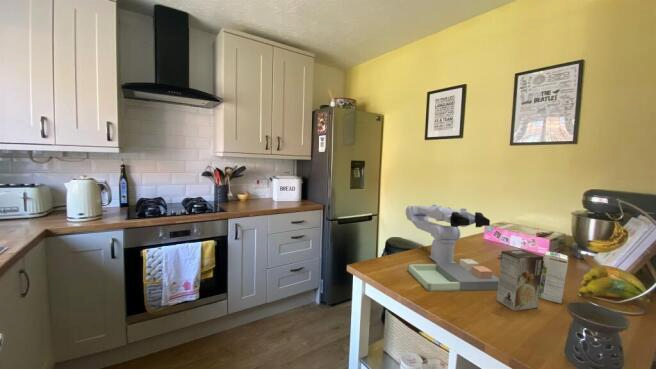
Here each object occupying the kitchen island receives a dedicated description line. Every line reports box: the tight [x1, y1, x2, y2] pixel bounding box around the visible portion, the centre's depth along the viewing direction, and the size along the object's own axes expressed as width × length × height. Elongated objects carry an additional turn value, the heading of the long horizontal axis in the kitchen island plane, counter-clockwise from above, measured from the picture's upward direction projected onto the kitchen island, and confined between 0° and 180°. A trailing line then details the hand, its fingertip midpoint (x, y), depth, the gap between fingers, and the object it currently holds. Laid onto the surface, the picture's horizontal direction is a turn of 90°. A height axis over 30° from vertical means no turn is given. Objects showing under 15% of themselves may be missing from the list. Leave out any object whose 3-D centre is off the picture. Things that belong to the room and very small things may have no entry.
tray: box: [407, 263, 460, 292], centre depth 98 cm, size 16×11×2 cm
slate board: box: [434, 262, 499, 292], centre depth 100 cm, size 16×16×3 cm
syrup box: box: [539, 250, 569, 305], centre depth 88 cm, size 6×6×14 cm
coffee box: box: [496, 249, 544, 312], centre depth 83 cm, size 9×6×16 cm
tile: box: [459, 258, 480, 270], centre depth 103 cm, size 4×4×2 cm
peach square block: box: [471, 265, 493, 279], centre depth 96 cm, size 4×4×2 cm
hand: (478, 222), depth 96 cm, fingers open, 7 cm apart
